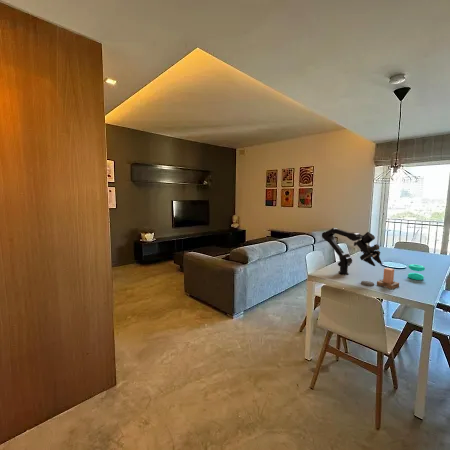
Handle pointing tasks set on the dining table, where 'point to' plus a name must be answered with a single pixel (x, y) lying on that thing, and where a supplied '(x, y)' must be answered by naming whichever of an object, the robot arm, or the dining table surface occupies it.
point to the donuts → (416, 275)
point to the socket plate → (391, 286)
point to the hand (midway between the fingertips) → (378, 264)
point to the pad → (367, 283)
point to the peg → (388, 275)
